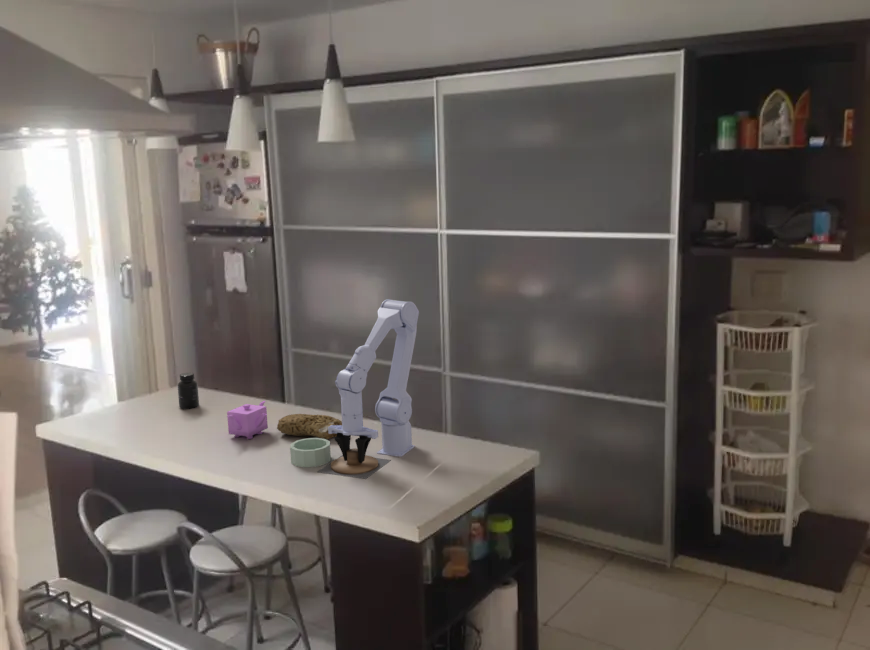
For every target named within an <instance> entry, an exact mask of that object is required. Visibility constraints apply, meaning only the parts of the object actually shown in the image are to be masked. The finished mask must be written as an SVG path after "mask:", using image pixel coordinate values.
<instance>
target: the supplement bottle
mask: <svg viewBox="0 0 870 650" xmlns="http://www.w3.org/2000/svg"><path fill="white" fill-rule="evenodd" d="M177 396H178V407H179V408H180V410H181V409H182V410H193V409H197V408H198V407H199V406H200V399H199V397H200V396H199V385H198V382H197V381H196V380H195V373H193V372H183V373H180V374H179V382H178V383H177Z"/></svg>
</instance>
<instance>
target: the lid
mask: <svg viewBox="0 0 870 650" xmlns="http://www.w3.org/2000/svg"><path fill="white" fill-rule="evenodd" d="M339 457H340V456H339ZM339 457H338V458H335V459H333V460H332V461H331V462H332V463H331V462H330V463H331V469H332V470H333V471H334V472H337V473H340V474H362V473H366V472H370V471H372V470H374V469H376V468H377V467H378V460H377V459H376V458H377V457H374V456H371V455H366V454H365V461H363V462H362V463H359V461H358V449H357V447H356V448H350V449H349V450H347V461H344V458H343V457H340V458H339Z"/></svg>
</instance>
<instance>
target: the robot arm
mask: <svg viewBox="0 0 870 650" xmlns="http://www.w3.org/2000/svg"><path fill="white" fill-rule="evenodd" d="M419 315H420V311H419V309H418V307H417V305H416V304H415V303H414V302H413V301H403V300H395V299H391V298H387V299H385V300H383V301H382V303H381V304H380V307H379V308H378V309H377V319H376V321H375V322H374V323H375V324H374V325H373V326H372V328H371V331H370V333H369V335H368V337H367V338H366V341H365V343H364V344H363V345H361V346H357V348H356V349H355V351H354V353H353V356H352V357H351V359H350V360H349V362H348V364H347V365H346V367H345V368H344V369H342V370H340V371H339V372H338V373H337V375H336V380H334V384H335V387H336V388H337V389H338V393H339V396H340V407H341V421H342V425H331V426H329V427H328V433H329V434H332V433H336V434H337V436H336V437H334V441H335V442H336V443H337V445H338V447H339V449H340V451H341V454H342V455H343V458H344V461H347V450H349V449H351V436H354V437H357V438H356V439H355V440H354V442H355V444H356V448H357V449H358V461H359V463H362V462H363V461H365V455H366V453H367V450H368V447H369V445H370V442H371V440H376V439H377V438H378V437H379V430H378V429H373V428H369V427H366V426H364V421H363V420H364V415H363V412H364V411H363V396H362V395H363V392H362V391H363V390H364V388H365V387H366V385H367V378H368V373H369V371H370V369H371V367H372V365H373V364H374V362H375V361H376V359H377V354H376V351H377V349H378V348H379V346H380V345H381V344H382V342H383V341H384V339H385V338H386V337H387V335H388V333H389V332H390V330H394V331H395V333H396V337H395V343H394V347H393V348H394V349H393V353H392V354H393V355H392V359H391V365H390V370H389V371H390V372H389V375H388V380H387V381H388V382H387V386H386V387H385V389H384V390H381V392H380V393H379V397H378V400H377V401H376V403H375V407H374V412H375V415H376V416H377V418H379V422H380V423H381V425H380V426H381V443H382V445H381V446H382V448H381V449H380V450H378V451H377V452H376V454H378V455H385V456H393V457H403V456H404V455H406V454H407V453H408V452H410V451H411V450H413V448H415V445H414V444H413V439H412V438H413V437H412V434H413V433H412V430H413V429H412V424H411V423H410V421H409V420H411V417H412V413H413V407H412V401H413V398H412V397H411V395H410V394H409V392H407V386H408V382H409V380H408V379H409V376H410V372H411V371H410V370H411V364H412V359H413V354H414V348H415V343H416V337H417V329H418V328H417V325H418V320H419Z"/></svg>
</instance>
